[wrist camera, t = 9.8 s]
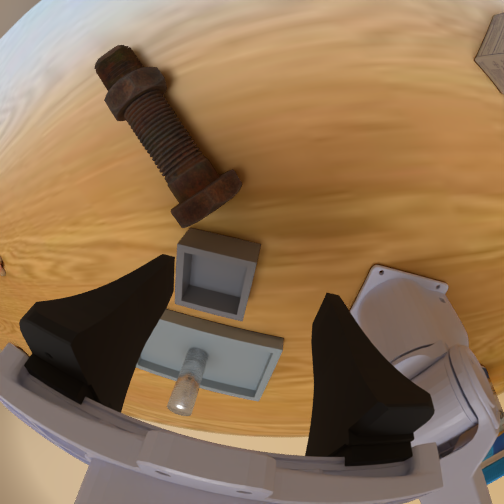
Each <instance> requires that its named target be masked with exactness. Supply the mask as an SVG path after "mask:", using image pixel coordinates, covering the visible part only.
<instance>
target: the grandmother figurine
mask: <svg viewBox="0 0 504 504" xmlns="http://www.w3.org/2000/svg"><path fill="white" fill-rule="evenodd" d="M0 264H2V259H1V257H0ZM0 275H1V276H5V275H6V274H5V270H4V269H3V267H2V266H1V265H0Z"/></svg>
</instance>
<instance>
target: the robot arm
mask: <svg viewBox="0 0 504 504" xmlns="http://www.w3.org/2000/svg"><path fill="white" fill-rule="evenodd" d="M174 262H175V257H172V256H168V255H164V254H162V255H160V256H158V257H157V258H155V259H153V260H152V261H150V262H148V263H147V264H145V265H143V266H141V267H140V268H138V269H136V270H135V271H133V272H131V273H129V274H127V275H125V276H123V277H121V278H119V279H118V280H116V281H113V282H111V283H109V284H107V285H104V286H102V287H99V288H97V289H94V290H91V291H88V292H85V293H82V294H78V295H75V296H71V297H66V298H61V299H56V300H49V301H41V302H36V303H35V304H34V305H33V306H32V307H31V308H30V310H29V311H28V312H27V313H26V314H25V315H24V316H23V317H22V319H21V320H20V323H19V324H20V330H21V332H22V335H23V337H24V339H25V340H26V342H27V344H28V346H29V348H30V350H31V351H32V355H31V356H30V357H28V356H27V355H26V354H25V353H24V352H22V351H21V350H20V349H18V348H17V347H15V346H14V345H13V344H11V343H8V344H7V345H6V347H5V348H4V349H3V351H2V352H1V353H0V401H1V402H2V404H3V405H4V406H5V407H6V408H7V409H8V410H10V411H11V412H12V413H13V414H14V415H16V416H17V417H18V418H19V419H21V420H22V421H23V422H24V423H26V424H27V425H28V426H29V427H31V428H32V429H34V430H35V431H36V432H38V433H39V434H40V435H42V436H43V437H44V438H46V439H47V440H49V441H50V442H52V443H53V444H55V445H56V446H58V447H59V448H61V449H62V450H64V451H66V452H67V453H69V454H70V455H72V456H74V457H76V458H77V459H79V460H81V461H82V462H84V463H86V464H88V465H89V467H88V470H87V472H86V474H85V477H84V479H83V482H82V485H81V487H80V490H79V492H78V495H77V497H76V500H75V503H74V504H403V503H407V502H410V501H413V500H415V499H419V500H420V502H421V504H492V501H491V498H490V494H489V491H488V487H487V484H486V481H485V478H484V475H483V472H482V469H481V466H480V464H481V463H482V461H483V460H484V458H485V456H486V455H487V453H488V452H489V450H490V449H491V447H492V445H493V444H494V442H495V440H496V438H497V436H498V434H499V425H500V412H499V409H498V407H497V404H496V402H495V399H494V395H493V391H492V389H491V386H490V383H489V381H488V379H487V377H486V374H485V372H484V370H483V369H482V367H481V365H480V363H479V361H478V360H477V358H476V357H475V355H474V354H473V352H472V351H471V350H470V349H469V341H468V335H467V332H466V330H465V328H464V326H463V324H462V322H461V321H460V319H459V317H458V315H457V314H456V312H455V310H454V308H453V307H452V305H451V303H450V302H449V300H448V298H447V297H446V295H445V293H446V292H447V290H448V285H447V283H444V282H441V281H437V280H433V279H430V278H426V277H422V276H419V275H415V274H411V273H407V272H404V271H400V270H396V269H392V268H388V267H385V266H381V265H374V266H373V267H372V268H371V270H370V272H369V274H368V276H367V278H366V280H365V282H364V284H363V286H362V288H361V290H360V292H359V294H358V296H357V298H356V300H355V302H354V304H353V306H352V308H351V310H350V311H349V310H348V308H347V307H346V305H345V304H344V302H343V301H342V299H341V298H340V296H339V295H335V294H330V293H326V296H325V298H324V300H323V302H322V304H321V307H320V309H319V311H318V313H317V315H316V317H315V320H314V322H313V325H312V342H311V343H312V358H313V373H314V397H313V409H312V418H311V426H310V432H309V439H308V445H307V449H306V454H305V456H297V455H285V454H276V453H268V452H260V451H254V450H247V449H241V448H236V447H231V446H226V445H221V444H217V443H212V442H208V441H204V440H200V439H196V438H192V437H189V436H185V435H181V434H178V433H175V432H172V431H169V430H165V429H162V428H159V427H156V426H154V425H151V424H148V423H145V422H142V421H140V420H137V419H135V418H132V417H129V416H127V415H125V414H122V413H121V410H122V407H123V403H124V400H125V396H126V393H127V390H128V387H129V384H130V381H131V378H132V376H133V373H134V370H135V368H136V365H137V362H138V360H139V358H140V355H141V353H142V350H143V348H144V346H145V344H146V342H147V340H148V339H149V337H150V335H151V333H152V332H153V330H154V328H155V327H156V325H157V323H158V322H159V320H160V318H161V316H162V315H163V313H164V311H165V309H166V308H167V305H168V303H169V301H170V298H171V296H172V293H173V290H174ZM381 270H383V272H381V273H379V272H380V271H381ZM436 286H437V287H436Z"/></svg>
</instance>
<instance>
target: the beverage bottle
mask: <svg viewBox="0 0 504 504" xmlns="http://www.w3.org/2000/svg"><path fill="white" fill-rule="evenodd" d="M481 367H482V369H483V370H484V372H485V374H486V377H487V379H488V381H489V383H490V386H491V389H492V391H493V395H494V399H495V402H496V404H497V407H498V409H499V412H500V425H499V434H498V436H497V438H496V440H495V442H494V444H493V445H492V447H491V449H490V450H489V452H488V453H487V455H486V456H485V458H484V460H483V461H482V463H481V464H480V466H481V469H482V472H483V475H484V478H485V481H486V484H487V485H488V484H490V483H492V482H493V481H495V480H497V479H499V478H500V477H502V476H504V412H503V410H502V407H501V405H500V402H499V400H498V397H497V395H496V392H495V390H494V387H493V385H492V382H491V380H490V378H489V376H488V372H487V370H486V368H485V367H484V366H481Z"/></svg>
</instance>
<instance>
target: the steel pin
mask: <svg viewBox="0 0 504 504" xmlns="http://www.w3.org/2000/svg"><path fill="white" fill-rule="evenodd" d="M208 358H209V355H208V353H207V352H206V351H204V350H203V349H200V348H196V347H193V348H190V349H189V350H188V352H187V354H186V357H185V360H184V362H183V365H182V368H181V370H180V373H179V375H178V378H177V381H176V383H175V386H174V389H173V391H172V394H171V397H170V400H169V402H168V405H167V407H168V409H169V410H170V411H172V412H174V413H176V414H178V415H182V416H190V415H191V414H192V410H193V407H194V404H195V401H196V397H197V394H198V391H199V387H200V384H201V381H202V378H203V374H204V371H205V368H206V365H207V361H208Z"/></svg>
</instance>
